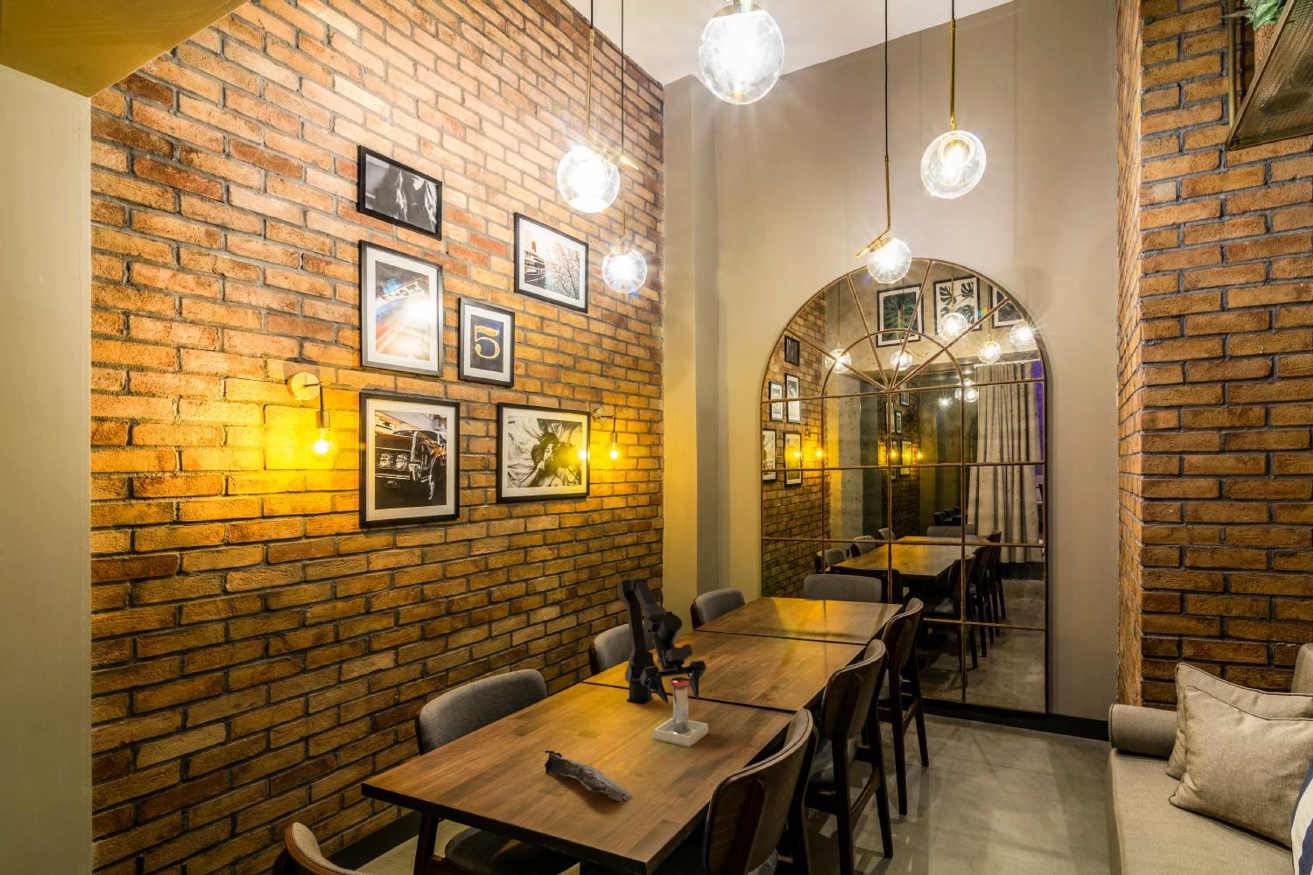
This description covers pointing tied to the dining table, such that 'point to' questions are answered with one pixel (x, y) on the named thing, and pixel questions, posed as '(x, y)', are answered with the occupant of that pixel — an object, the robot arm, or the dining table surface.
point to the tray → (664, 734)
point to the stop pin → (680, 706)
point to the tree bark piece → (585, 776)
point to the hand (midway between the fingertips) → (682, 700)
